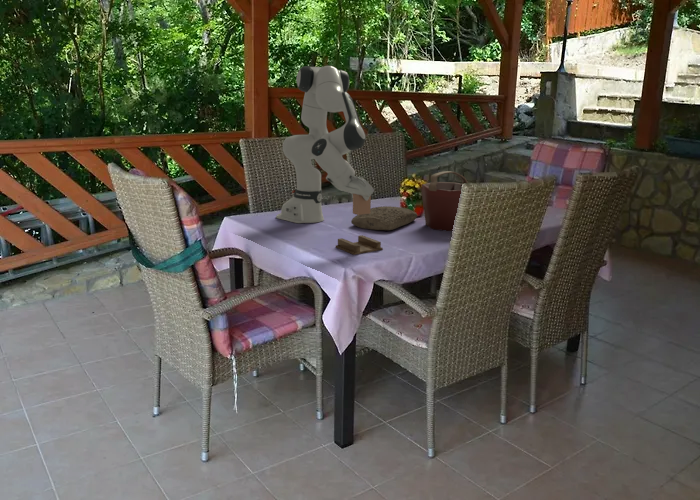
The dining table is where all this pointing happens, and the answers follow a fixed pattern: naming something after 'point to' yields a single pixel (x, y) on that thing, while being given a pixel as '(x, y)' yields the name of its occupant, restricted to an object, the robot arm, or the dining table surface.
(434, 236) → the dining table surface
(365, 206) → the clay block
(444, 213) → the bucket
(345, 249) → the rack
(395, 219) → the stone tablet
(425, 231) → the dining table surface
